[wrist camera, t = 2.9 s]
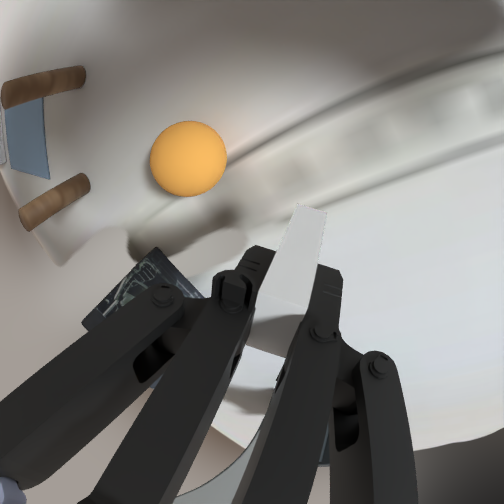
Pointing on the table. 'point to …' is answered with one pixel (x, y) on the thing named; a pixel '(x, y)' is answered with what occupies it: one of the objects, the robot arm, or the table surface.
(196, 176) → the ball
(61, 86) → the post
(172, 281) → the box
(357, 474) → the robot arm
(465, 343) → the table surface
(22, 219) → the post
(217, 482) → the grey curved piece
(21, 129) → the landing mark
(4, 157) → the wall
